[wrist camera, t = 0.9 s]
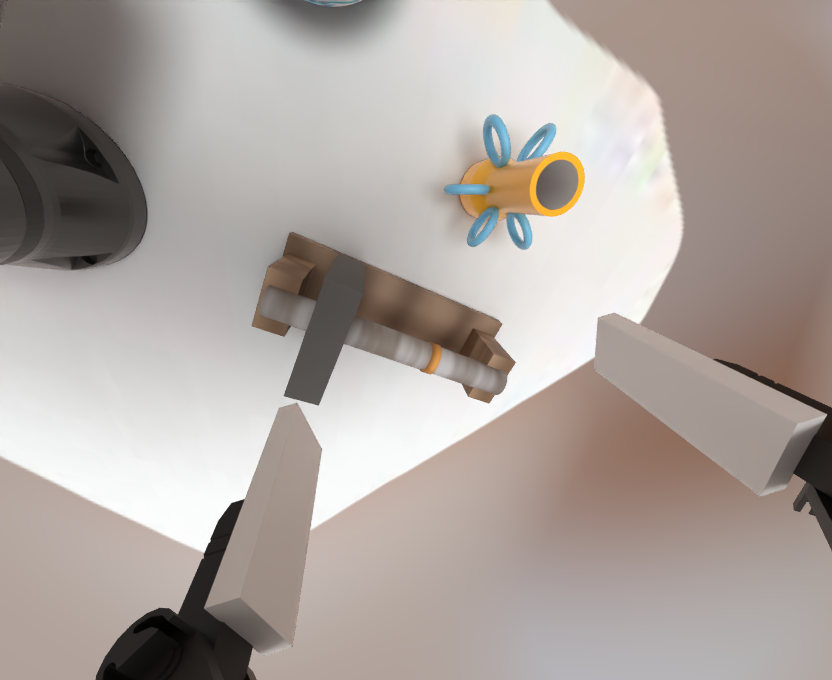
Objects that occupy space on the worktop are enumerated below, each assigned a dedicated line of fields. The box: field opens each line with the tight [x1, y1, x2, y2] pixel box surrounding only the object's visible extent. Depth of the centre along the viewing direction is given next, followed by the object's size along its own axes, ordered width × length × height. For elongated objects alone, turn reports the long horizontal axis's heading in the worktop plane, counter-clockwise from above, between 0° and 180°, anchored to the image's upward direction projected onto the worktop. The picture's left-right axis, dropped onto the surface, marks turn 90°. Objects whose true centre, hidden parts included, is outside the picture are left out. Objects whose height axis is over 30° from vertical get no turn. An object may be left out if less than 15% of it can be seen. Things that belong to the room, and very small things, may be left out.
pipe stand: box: [252, 232, 516, 403], centre depth 34 cm, size 28×10×11 cm, turn 65°
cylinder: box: [444, 115, 585, 250], centre depth 28 cm, size 12×10×15 cm
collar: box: [284, 254, 366, 405], centre depth 29 cm, size 3×11×11 cm, turn 155°
